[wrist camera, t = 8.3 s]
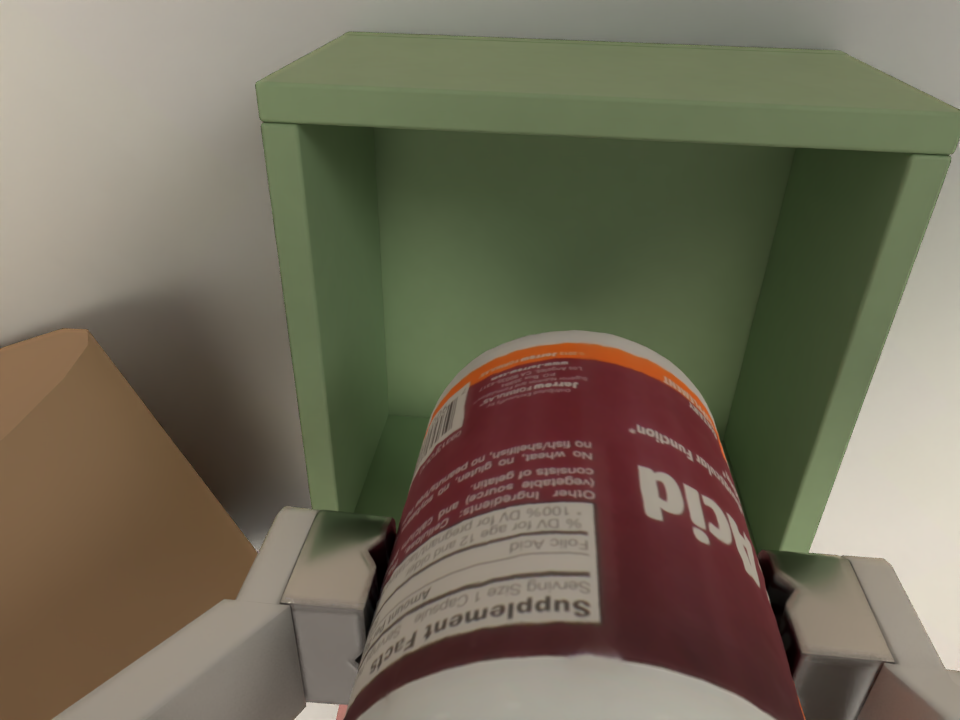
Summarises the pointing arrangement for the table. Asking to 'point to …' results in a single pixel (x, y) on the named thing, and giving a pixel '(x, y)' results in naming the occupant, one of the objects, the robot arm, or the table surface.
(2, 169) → the table surface
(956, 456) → the table surface
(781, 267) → the sage bin
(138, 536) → the alarm clock
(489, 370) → the pill bottle
